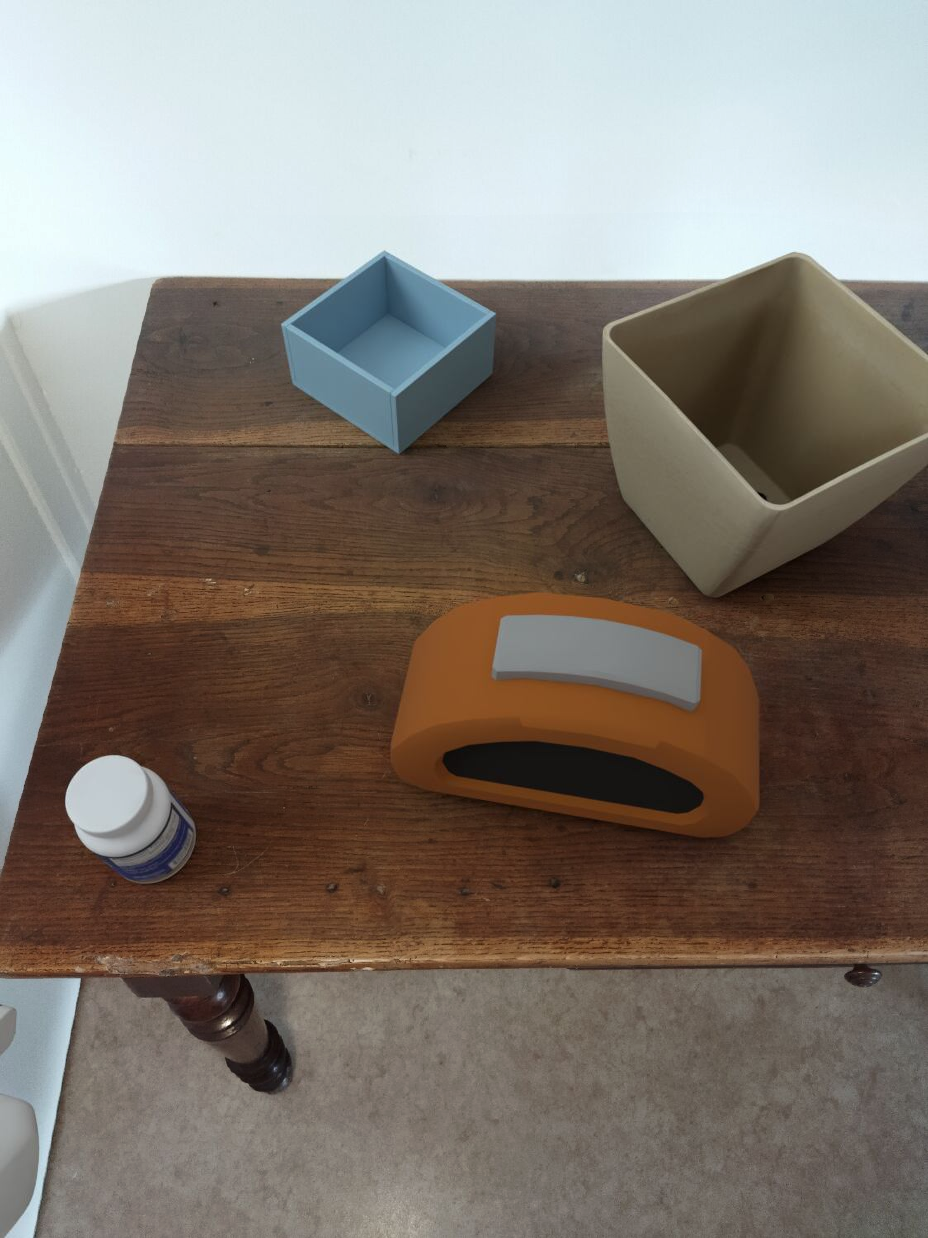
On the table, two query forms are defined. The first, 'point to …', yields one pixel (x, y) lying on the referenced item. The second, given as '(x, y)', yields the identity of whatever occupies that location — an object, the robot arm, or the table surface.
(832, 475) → the flower pot
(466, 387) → the open box
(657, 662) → the alarm clock
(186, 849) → the pill bottle
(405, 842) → the table surface
